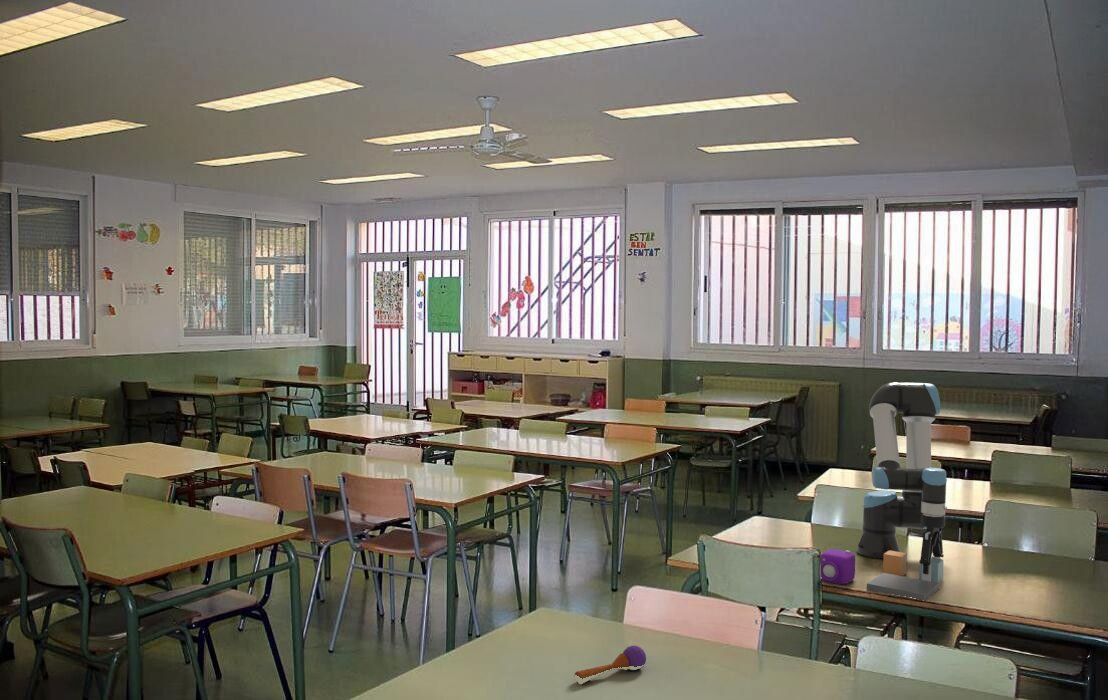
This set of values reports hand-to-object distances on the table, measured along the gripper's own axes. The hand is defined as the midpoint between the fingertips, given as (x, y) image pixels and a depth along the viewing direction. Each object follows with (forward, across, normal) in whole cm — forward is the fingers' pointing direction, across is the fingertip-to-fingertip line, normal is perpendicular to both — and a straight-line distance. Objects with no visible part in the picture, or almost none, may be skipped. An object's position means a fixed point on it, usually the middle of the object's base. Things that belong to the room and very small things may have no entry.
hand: (931, 579), depth 302 cm
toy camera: (+1, -23, +24) cm, 33 cm away
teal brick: (0, 0, 0) cm, 0 cm away
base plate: (0, -17, +4) cm, 17 cm away
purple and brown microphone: (+1, -136, +37) cm, 140 cm away
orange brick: (0, 0, +12) cm, 12 cm away
